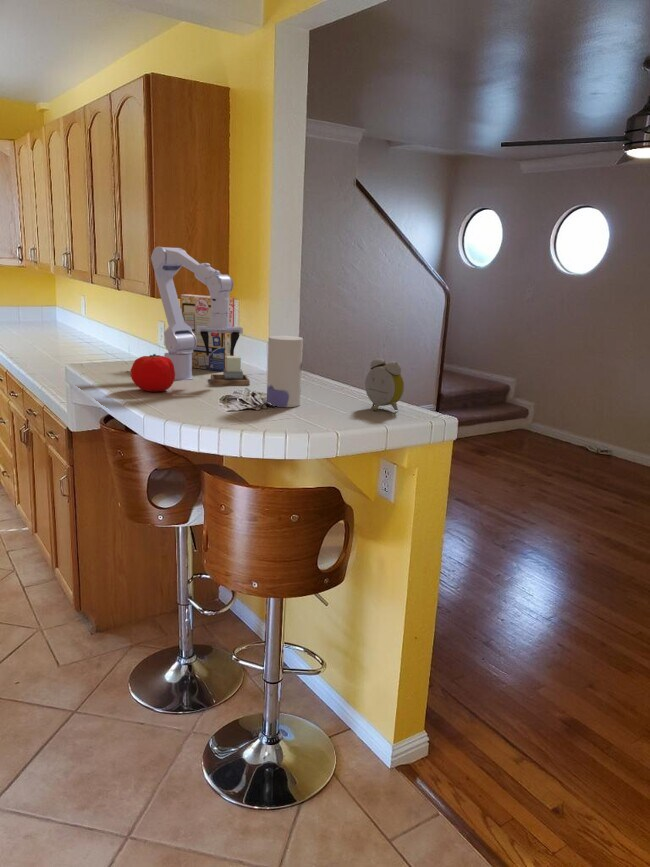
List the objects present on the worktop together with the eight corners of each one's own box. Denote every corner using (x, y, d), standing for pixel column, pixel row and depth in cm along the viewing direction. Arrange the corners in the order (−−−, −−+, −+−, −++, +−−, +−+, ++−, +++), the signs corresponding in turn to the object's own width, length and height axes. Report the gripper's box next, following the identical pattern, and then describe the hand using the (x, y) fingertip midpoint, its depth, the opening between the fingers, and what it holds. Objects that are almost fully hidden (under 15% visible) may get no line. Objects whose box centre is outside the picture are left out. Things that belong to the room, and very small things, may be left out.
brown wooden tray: (213, 386, 220) (213, 380, 219) (210, 380, 230) (210, 374, 230) (249, 386, 223) (249, 380, 222) (245, 380, 233) (245, 374, 232)
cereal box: (234, 370, 251) (235, 297, 244) (225, 372, 245) (225, 298, 238) (189, 364, 259) (189, 293, 252) (179, 366, 254) (179, 294, 247)
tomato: (178, 394, 206) (178, 357, 203) (133, 395, 200) (132, 357, 197) (171, 386, 216) (171, 351, 213) (128, 387, 211) (127, 351, 208)
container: (307, 405, 199) (310, 338, 194) (282, 409, 193) (284, 340, 187) (284, 399, 206) (287, 334, 201) (259, 403, 199) (261, 335, 194)
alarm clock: (403, 412, 196) (407, 362, 193) (387, 415, 192) (391, 363, 188) (374, 404, 205) (377, 356, 201) (358, 407, 200) (362, 357, 196)
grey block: (224, 383, 223) (224, 371, 222) (223, 380, 229) (223, 368, 228) (242, 383, 224) (242, 371, 223) (240, 380, 230) (240, 368, 229)
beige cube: (226, 371, 223) (227, 357, 221) (225, 368, 227) (225, 355, 226) (240, 371, 224) (240, 358, 223) (239, 369, 228) (239, 355, 227)
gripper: (197, 313, 208) (197, 356, 212) (244, 314, 212) (243, 357, 215) (196, 311, 215) (196, 353, 218) (241, 312, 218) (240, 354, 222)
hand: (219, 355), depth 217 cm, fingers open, 7 cm apart
